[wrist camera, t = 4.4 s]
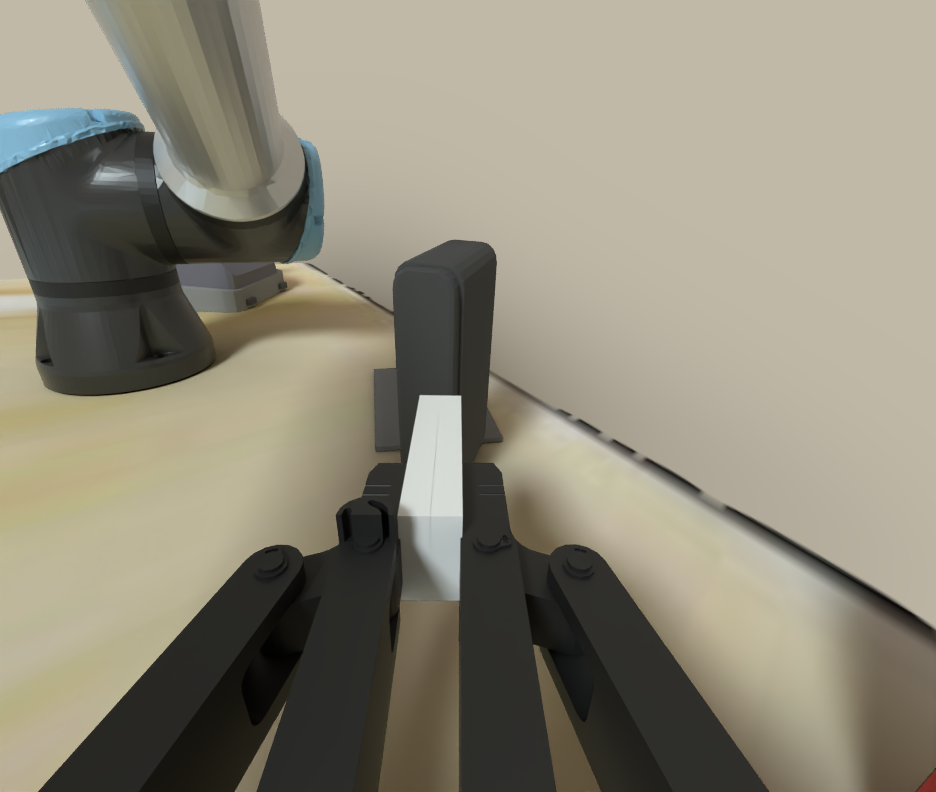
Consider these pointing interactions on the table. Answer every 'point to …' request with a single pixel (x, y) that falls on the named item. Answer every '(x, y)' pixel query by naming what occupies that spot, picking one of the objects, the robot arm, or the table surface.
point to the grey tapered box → (229, 285)
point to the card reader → (445, 335)
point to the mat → (389, 417)
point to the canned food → (929, 783)
